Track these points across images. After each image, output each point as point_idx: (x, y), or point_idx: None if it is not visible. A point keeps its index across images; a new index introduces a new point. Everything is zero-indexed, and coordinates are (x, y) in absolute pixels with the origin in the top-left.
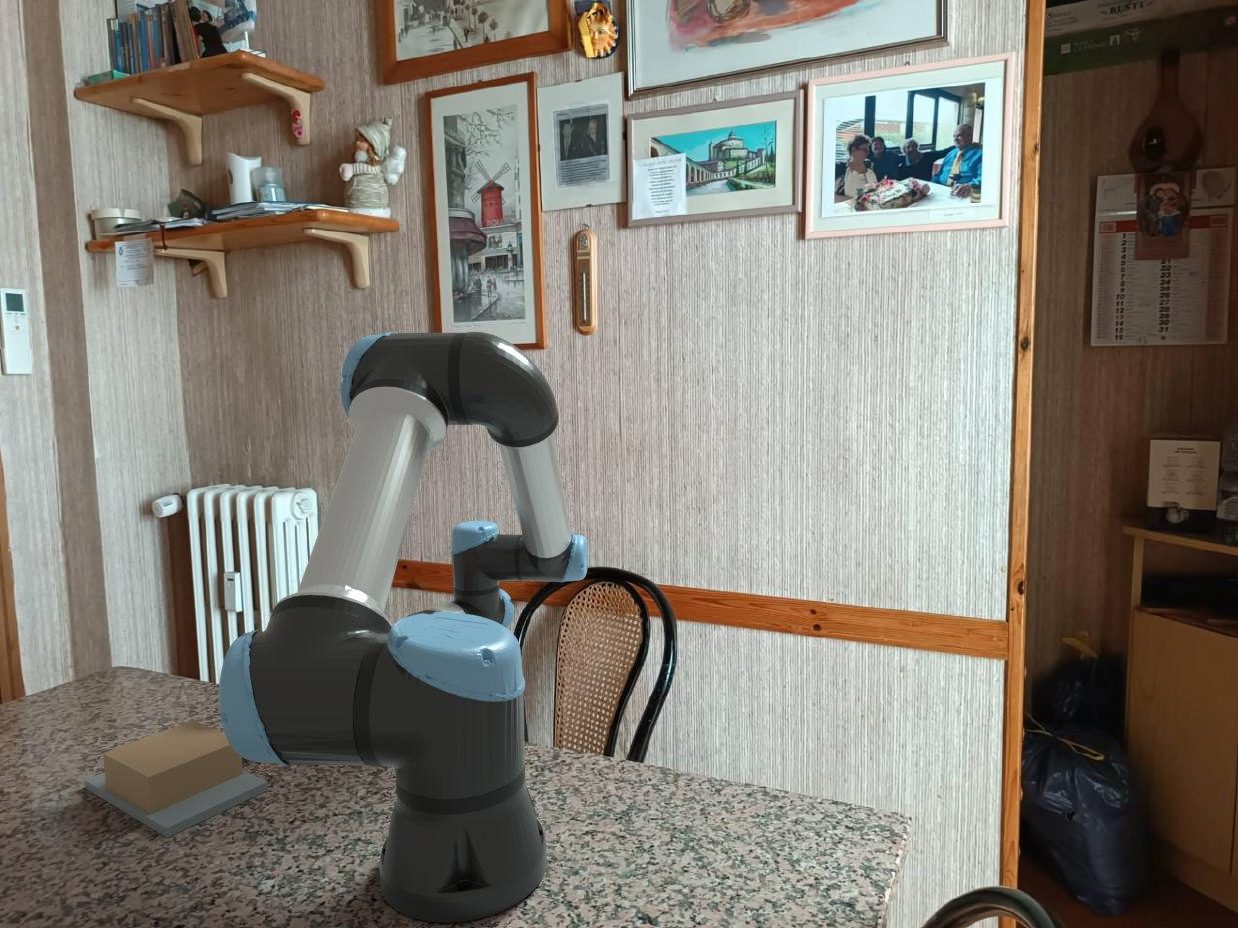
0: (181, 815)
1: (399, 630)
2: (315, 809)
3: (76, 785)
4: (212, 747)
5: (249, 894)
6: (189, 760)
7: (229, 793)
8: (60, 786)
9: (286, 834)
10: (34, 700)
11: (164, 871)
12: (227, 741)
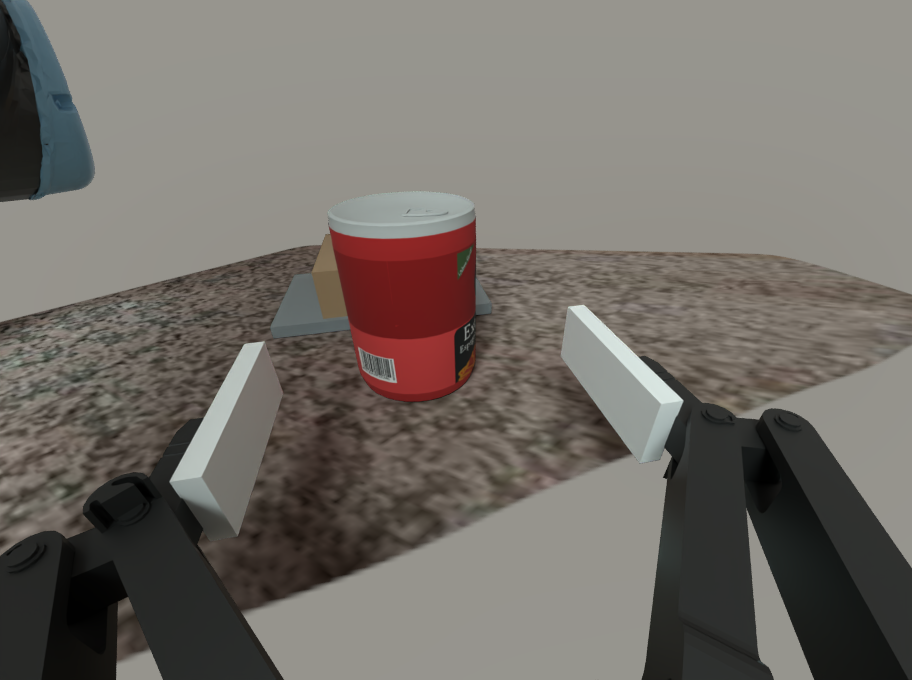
0: (302, 281)
1: None
2: (162, 354)
3: (479, 265)
4: (328, 259)
5: (138, 297)
6: (321, 248)
7: (294, 305)
8: (488, 261)
9: (166, 327)
10: (793, 263)
11: (249, 278)
12: (327, 267)
